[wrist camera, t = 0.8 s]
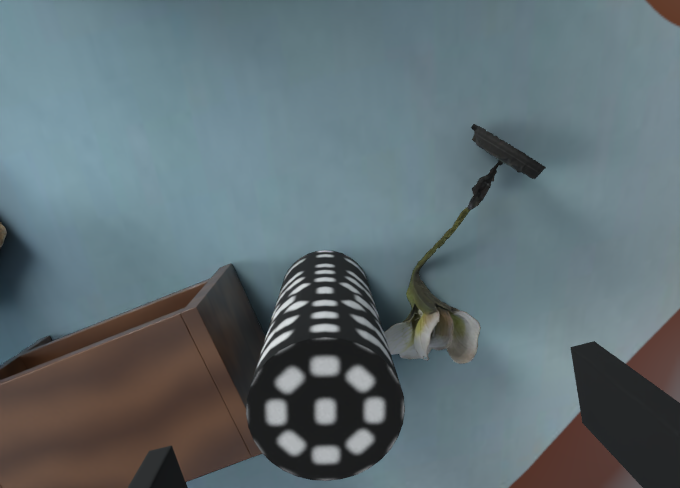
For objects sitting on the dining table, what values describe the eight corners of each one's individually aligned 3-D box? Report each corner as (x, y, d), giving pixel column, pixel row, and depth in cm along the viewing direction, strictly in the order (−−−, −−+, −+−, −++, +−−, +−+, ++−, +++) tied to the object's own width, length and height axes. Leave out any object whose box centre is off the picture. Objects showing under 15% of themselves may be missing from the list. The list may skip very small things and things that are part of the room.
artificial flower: (536, 160, 43) (615, 196, 34) (406, 344, 49) (445, 414, 41) (466, 113, 40) (533, 139, 31) (336, 317, 46) (361, 387, 37)
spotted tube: (369, 333, 45) (402, 478, 25) (283, 335, 45) (249, 482, 25) (369, 249, 43) (406, 335, 23) (280, 250, 43) (242, 338, 23)
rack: (38, 339, 44) (-67, 410, 32) (231, 263, 43) (196, 306, 31) (98, 443, 46) (20, 544, 35) (282, 373, 45) (267, 452, 34)
